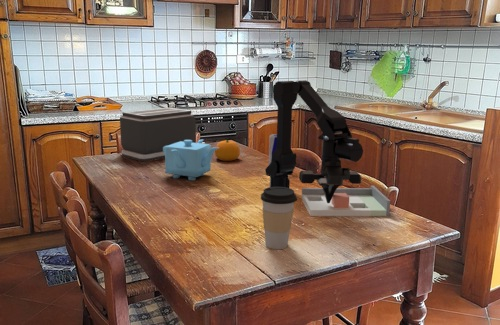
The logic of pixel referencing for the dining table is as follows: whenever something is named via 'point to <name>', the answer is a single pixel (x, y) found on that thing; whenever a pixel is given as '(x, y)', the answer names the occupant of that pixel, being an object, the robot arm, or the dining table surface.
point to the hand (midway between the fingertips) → (328, 202)
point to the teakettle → (188, 159)
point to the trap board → (359, 202)
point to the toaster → (154, 131)
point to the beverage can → (272, 145)
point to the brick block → (340, 200)
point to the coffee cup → (277, 215)
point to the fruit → (227, 150)
